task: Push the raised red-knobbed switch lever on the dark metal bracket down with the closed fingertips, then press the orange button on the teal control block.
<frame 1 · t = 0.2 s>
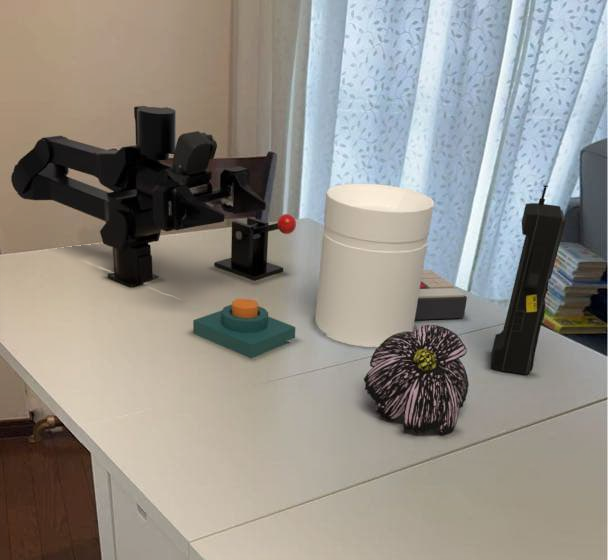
hand: (244, 212, 118), 17 cm above the table, tool horizontal, fingers open, 9 cm apart
button block: (244, 337, 123), on the table
canister: (363, 328, 130), on the table
decorative flower: (414, 413, 107), on the table
switch bracket: (248, 271, 147), on the table
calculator: (417, 304, 140), on the table
switch lever: (268, 228, 140), point 9 cm above the table, hinge at 22.0°
start button: (245, 309, 120), point 4 cm above the table, slide at 0.1 cm
portable radio: (510, 366, 122), on the table
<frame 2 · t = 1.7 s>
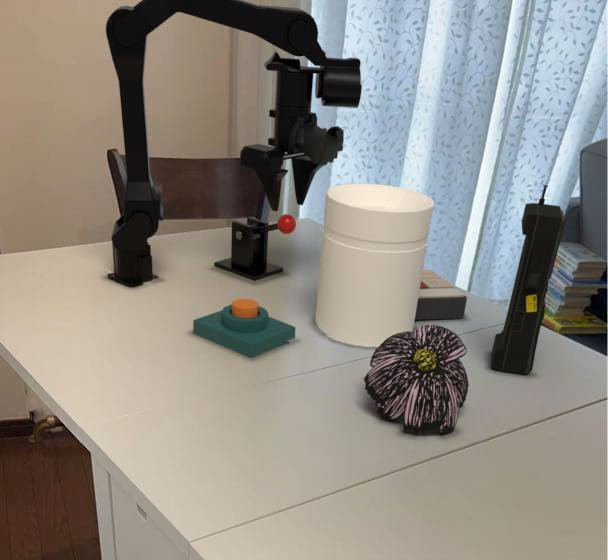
hand: (287, 207, 135), 13 cm above the table, tool pointing down, fingers open, 6 cm apart
nothing on the table moved.
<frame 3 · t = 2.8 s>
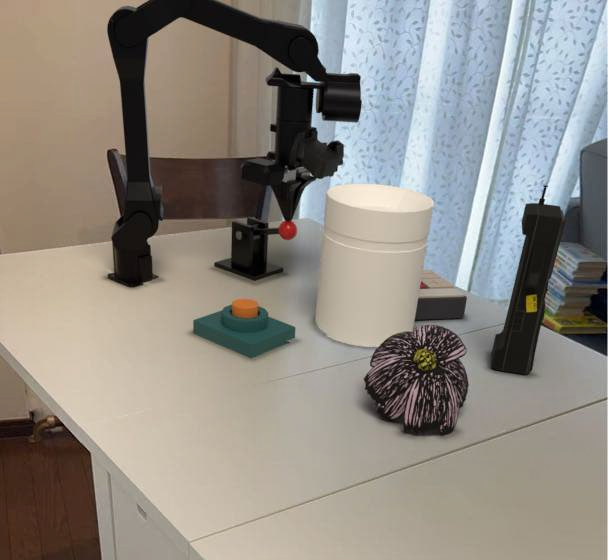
hand: (288, 220, 137), 11 cm above the table, tool pointing down, fingers closed
switch lever: (268, 231, 140), point 8 cm above the table, hinge at 15.6°, touching gripper
everything else where it was.
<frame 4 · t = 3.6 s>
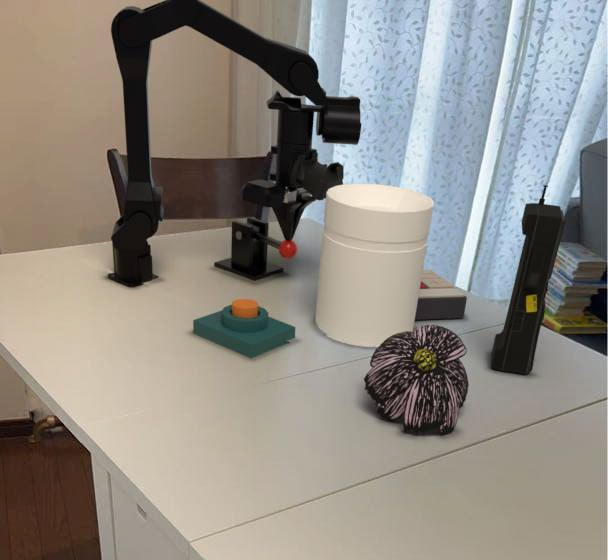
hand: (288, 239, 138), 8 cm above the table, tool pointing down, fingers closed
switch lever: (269, 240, 141), point 7 cm above the table, hinge at -4.7°, touching gripper
everything else where it was.
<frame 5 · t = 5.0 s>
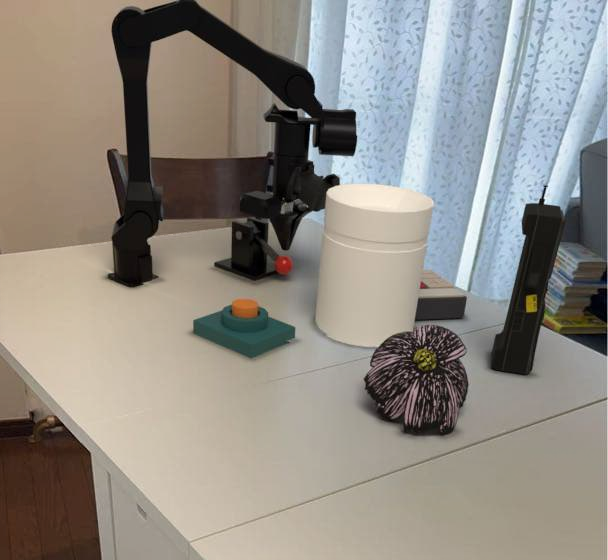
hand: (285, 250, 140), 6 cm above the table, tool pointing down, fingers closed
switch lever: (267, 249, 142), point 5 cm above the table, hinge at -24.1°
everything else where it was.
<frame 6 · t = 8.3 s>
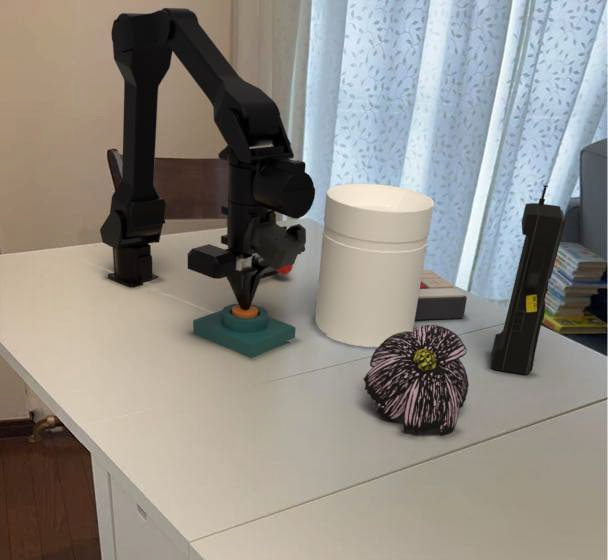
hand: (244, 309, 120), 4 cm above the table, tool pointing down, fingers closed, pressing on start button
start button: (244, 314, 121), point 4 cm above the table, slide at -0.8 cm, touching gripper
everything else where it was.
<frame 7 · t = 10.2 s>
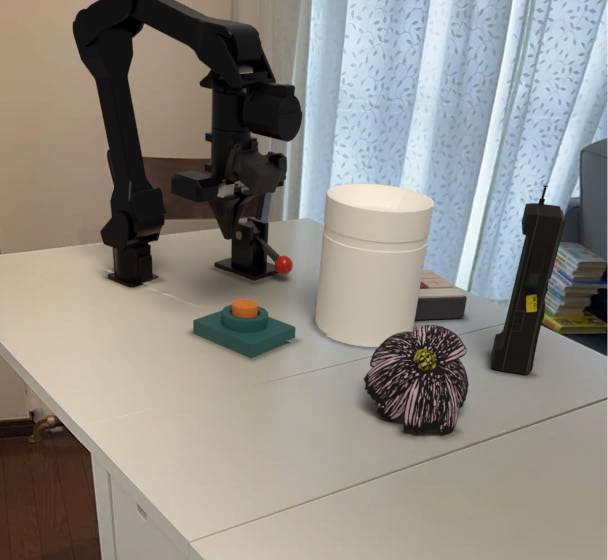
hand: (227, 238, 124), 12 cm above the table, tool pointing down, fingers closed
start button: (245, 309, 120), point 4 cm above the table, slide at 0.1 cm
everything else where it was.
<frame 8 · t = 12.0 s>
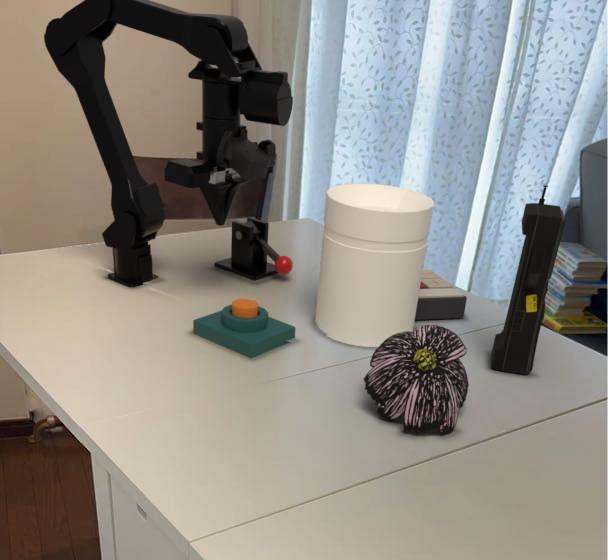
hand: (220, 224, 128), 12 cm above the table, tool pointing down, fingers closed
nothing on the table moved.
at the end: switch lever at -24° (first picture: +22°); start button pushed in 1.1 cm at the most during the clip, back to where it started at the end; start button slide at 0.1 cm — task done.
